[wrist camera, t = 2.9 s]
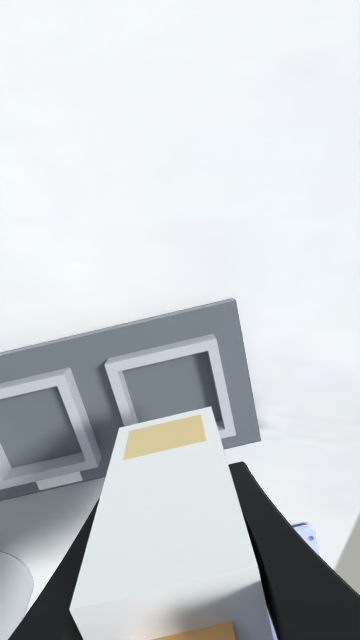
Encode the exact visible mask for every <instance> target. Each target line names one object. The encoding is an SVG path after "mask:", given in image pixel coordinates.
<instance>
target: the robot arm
mask: <svg viewBox="0 0 360 640" xmlns="http://www.w3.org/2000/svg"><path fill="white" fill-rule="evenodd" d="M228 466H229V469H230V473H231V476H232V479H233V483H234V486H235V490H236V493H237V497H238V500H239V503H240V507H241V510H242V514H243V517H244V521H245V524H246V527H247V531H248V534H249V538H250V541H251V545H252V548H253V551H254V555H255V558H256V562H257V565H258V569H259V574H260V579H261V583H262V588H263V593H264V597H265V602H266V607H267V611H268V616H269V621H270V625H271V630H272V635H273V639H274V640H360V595H359V594H358V593H357V592H355V590H353V589H352V588H351V587H350V586H349V585H348V584H347V583H346V582H345V581H344V580H343V579H342V578H341V577H340V576H339V575H338V574H336V572H335V571H334V570H333V569H332V568H331V567H330V566H329V565H328V564H327V563H326V562H325V561H324V560H323V559H322V558H321V557H320V556H319V552H318V545H317V537H316V531H315V529H314V527H313V526H312V525H310V524H306V525H301V526H297V527H292V526H291V525H290V524H289V522H288V521H287V520H286V519H285V518H284V517H283V515H282V514H281V513H280V512H279V510H278V509H277V508H276V507H275V505H274V504H273V503H272V502H271V500H270V499H269V498H268V497H267V495H266V494H265V493H264V491H263V490H262V488H261V487H260V486H259V484H258V483H257V481H256V480H255V478H254V477H253V475H252V474H251V472H250V471H249V469H248V467H247V465H246V464H245V463H244V462H238V463H234V464H229V465H228ZM99 500H100V498H99ZM99 500H98V501H97V503H96V505H95V506H94V508H93V510H92V511H91V513H90V515H89V517H88V518H87V520H86V522H85V523H84V525H83V527H82V529H81V530H80V532H79V534H78V535H77V537H76V539H75V540H74V542H73V544H72V545H71V547H70V548H69V550H68V552H67V553H66V555H65V557H64V558H63V560H62V561H61V563H60V565H59V566H58V568H57V569H56V571H55V572H54V574H53V575H52V577H51V578H50V580H49V581H48V583H47V584H46V586H45V588H44V589H43V591H42V592H41V594H40V595H39V597H38V598H37V600H36V601H35V602H34V604H33V605H32V607H31V608H30V610H29V611H28V612H27V614H26V615H25V617H24V618H23V619H22V621H21V622H20V624H19V625H18V626H17V628H16V629H15V630H14V632H13V633H12V635H11V636H10V637H9V639H8V640H83V638H82V636H81V633H80V631H79V629H78V627H77V625H76V623H75V621H74V619H73V617H72V615H71V612H70V610H69V609H70V605H71V602H72V598H73V594H74V591H75V587H76V583H77V580H78V576H79V572H80V569H81V565H82V561H83V558H84V554H85V551H86V547H87V543H88V540H89V536H90V532H91V529H92V525H93V521H94V518H95V514H96V511H97V507H98V503H99Z"/></svg>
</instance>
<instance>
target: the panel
mask: <svg viewBox="0 0 360 640" xmlns="http://www.w3.org/2000/svg"><path fill="white" fill-rule="evenodd" d="M206 407H211V408H212V411H213V414H214V418H215V421H216V425H217V428H218V432H219V435H220V438H221V442H222V445H223V449H228V448H232V447H237V446H241V445H245V444H250V443H254V442H258V441H261V438H260V432H259V427H258V421H257V416H256V410H255V404H254V399H253V393H252V388H251V382H250V377H249V371H248V365H247V360H246V354H245V349H244V343H243V337H242V332H241V326H240V321H239V315H238V310H237V304H236V300H235V299H233V298H231V299H227V300H223V301H218V302H214V303H210V304H206V305H201V306H197V307H193V308H189V309H184V310H180V311H176V312H172V313H167V314H163V315H159V316H155V317H150V318H146V319H142V320H137V321H133V322H129V323H125V324H120V325H116V326H112V327H108V328H103V329H99V330H95V331H91V332H86V333H82V334H78V335H74V336H69V337H65V338H61V339H57V340H52V341H48V342H44V343H40V344H35V345H31V346H27V347H23V348H18V349H14V350H10V351H6V352H1V353H0V501H2V500H6V499H11V498H15V497H19V496H24V495H28V494H32V493H37V492H41V491H45V490H50V489H54V488H59V487H63V486H67V485H72V484H76V483H80V482H85V481H89V480H93V479H98V478H102V477H106V474H107V471H108V467H109V463H110V460H111V456H112V452H113V449H114V445H115V441H116V438H117V434H118V430H119V428H120V427H125V426H129V425H133V424H138V423H142V422H146V421H150V420H155V419H159V418H163V417H168V416H172V415H176V414H181V413H185V412H189V411H193V410H198V409H202V408H206Z"/></svg>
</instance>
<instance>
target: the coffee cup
mask: <svg viewBox="0 0 360 640" xmlns="http://www.w3.org/2000/svg"><path fill="white" fill-rule="evenodd" d="M33 585H34V584H33V578H32V575H31V573H30V571H29V570H28V568H27V567H26V566H25V565H24V564H23V563H22V562H21V561H19V560H18V559H16V558H15V557H13V556H11V555H9V554H6V553H3V552H0V640H8V639H9V637H10V636H11V635H12V633H13V632H14V630H15V629H16V628H17V626H18V625H19V624H20V622H21V621H22V619H23V618H24V616H25V613H26V610H27V607H28V604H29V601H30V597H31V594H32V591H33Z"/></svg>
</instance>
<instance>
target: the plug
mask: <svg viewBox="0 0 360 640" xmlns="http://www.w3.org/2000/svg"><path fill="white" fill-rule="evenodd" d="M69 610H70V612H71V615H72V617H73V619H74V621H75V623H76V625H77V627H78V629H79V631H80V633H81V636H82V638H83V640H274V639H273V635H272V630H271V625H270V621H269V616H268V611H267V607H266V602H265V597H264V593H263V588H262V583H261V579H260V574H259V569H258V565H257V562H256V558H255V555H254V551H253V548H252V545H251V541H250V538H249V534H248V531H247V527H246V524H245V521H244V517H243V514H242V510H241V507H240V503H239V500H238V497H237V493H236V490H235V486H234V483H233V479H232V476H231V473H230V469H229V466H228V462H227V459H226V456H225V452H224V449H223V445H222V442H221V438H220V435H219V432H218V428H217V425H216V421H215V418H214V414H213V411H212V408H211V407H206V408H202V409H198V410H193V411H189V412H185V413H181V414H176V415H172V416H168V417H163V418H159V419H155V420H150V421H146V422H142V423H138V424H133V425H129V426H125V427H120V428H119V430H118V434H117V438H116V441H115V445H114V449H113V452H112V456H111V460H110V463H109V467H108V471H107V474H106V478H105V481H104V485H103V489H102V492H101V496H100V500H99V503H98V507H97V511H96V514H95V518H94V521H93V525H92V529H91V532H90V536H89V540H88V543H87V547H86V551H85V554H84V558H83V561H82V565H81V569H80V572H79V576H78V580H77V583H76V587H75V591H74V594H73V598H72V602H71V605H70V609H69Z"/></svg>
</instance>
